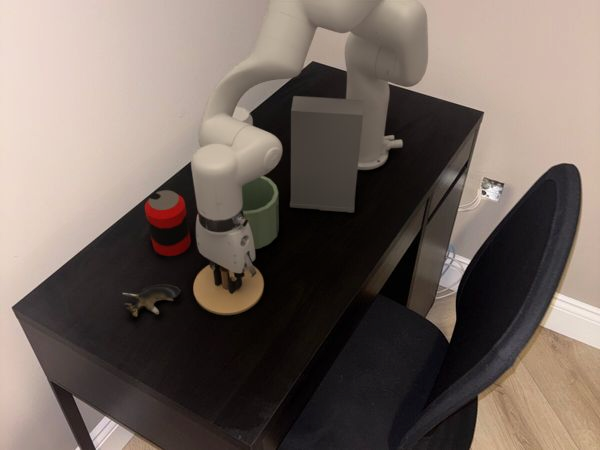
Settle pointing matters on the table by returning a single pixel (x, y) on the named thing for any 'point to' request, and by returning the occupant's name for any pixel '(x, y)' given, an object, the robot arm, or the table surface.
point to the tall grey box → (325, 152)
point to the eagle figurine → (151, 297)
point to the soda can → (168, 223)
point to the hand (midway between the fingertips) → (228, 284)
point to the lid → (227, 292)
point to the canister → (261, 210)
